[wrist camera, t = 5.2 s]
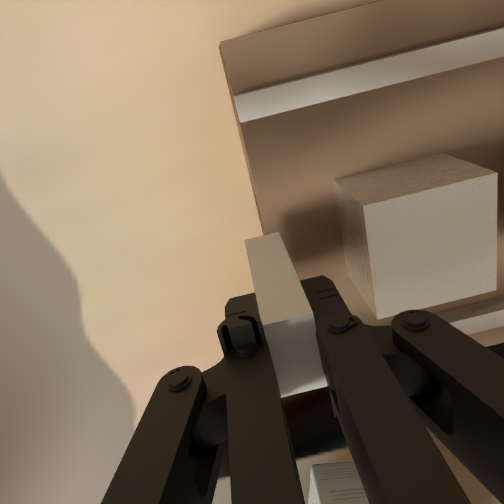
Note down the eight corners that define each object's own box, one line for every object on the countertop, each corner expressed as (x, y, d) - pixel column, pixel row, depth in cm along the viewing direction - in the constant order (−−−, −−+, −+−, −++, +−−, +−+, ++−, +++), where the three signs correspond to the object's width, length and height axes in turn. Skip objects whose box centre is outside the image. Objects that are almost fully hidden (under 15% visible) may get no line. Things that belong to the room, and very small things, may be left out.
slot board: (218, 46, 20) (221, 39, 15) (631, -59, 20) (757, -97, 15) (290, 348, 27) (306, 404, 23) (592, 273, 27) (670, 314, 23)
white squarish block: (333, 179, 19) (362, 206, 15) (442, 152, 19) (497, 172, 15) (348, 276, 21) (377, 319, 17) (446, 251, 21) (496, 290, 17)
